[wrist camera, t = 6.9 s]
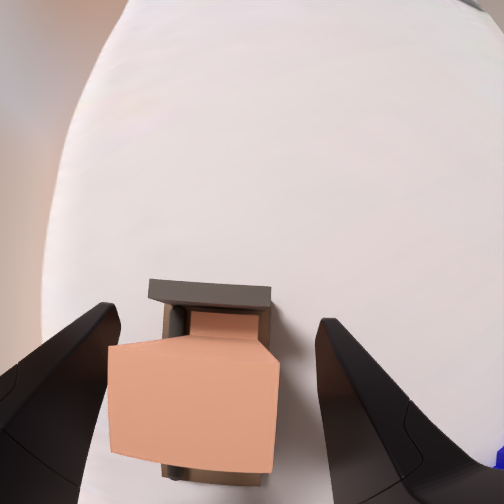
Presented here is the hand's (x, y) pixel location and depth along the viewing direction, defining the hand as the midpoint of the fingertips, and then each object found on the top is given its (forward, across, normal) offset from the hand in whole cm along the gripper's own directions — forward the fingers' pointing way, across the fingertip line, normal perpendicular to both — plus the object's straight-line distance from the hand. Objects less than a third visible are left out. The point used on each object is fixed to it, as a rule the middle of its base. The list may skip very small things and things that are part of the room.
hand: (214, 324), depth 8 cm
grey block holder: (+2, 0, +7) cm, 8 cm away
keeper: (+3, 0, +5) cm, 5 cm away
